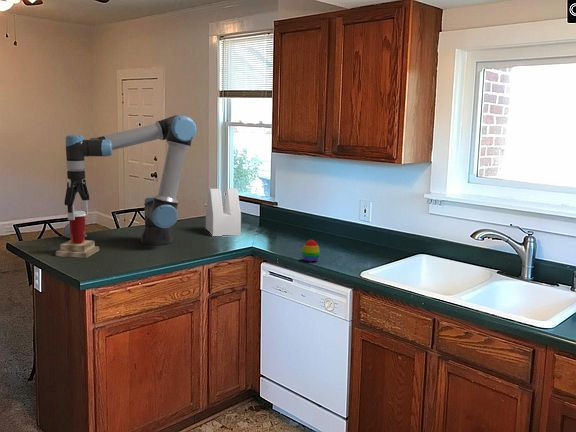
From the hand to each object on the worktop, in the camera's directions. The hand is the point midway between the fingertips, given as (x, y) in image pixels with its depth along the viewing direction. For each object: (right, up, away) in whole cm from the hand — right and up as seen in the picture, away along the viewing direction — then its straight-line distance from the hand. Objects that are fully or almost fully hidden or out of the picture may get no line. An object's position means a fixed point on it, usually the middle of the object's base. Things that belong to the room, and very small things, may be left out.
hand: (78, 217), depth 253 cm
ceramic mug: (-13, -11, +33) cm, 37 cm away
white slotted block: (+58, -9, +61) cm, 85 cm away
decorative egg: (+105, -21, +7) cm, 108 cm away
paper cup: (-1, -12, +2) cm, 12 cm away
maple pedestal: (-1, -17, +3) cm, 17 cm away
